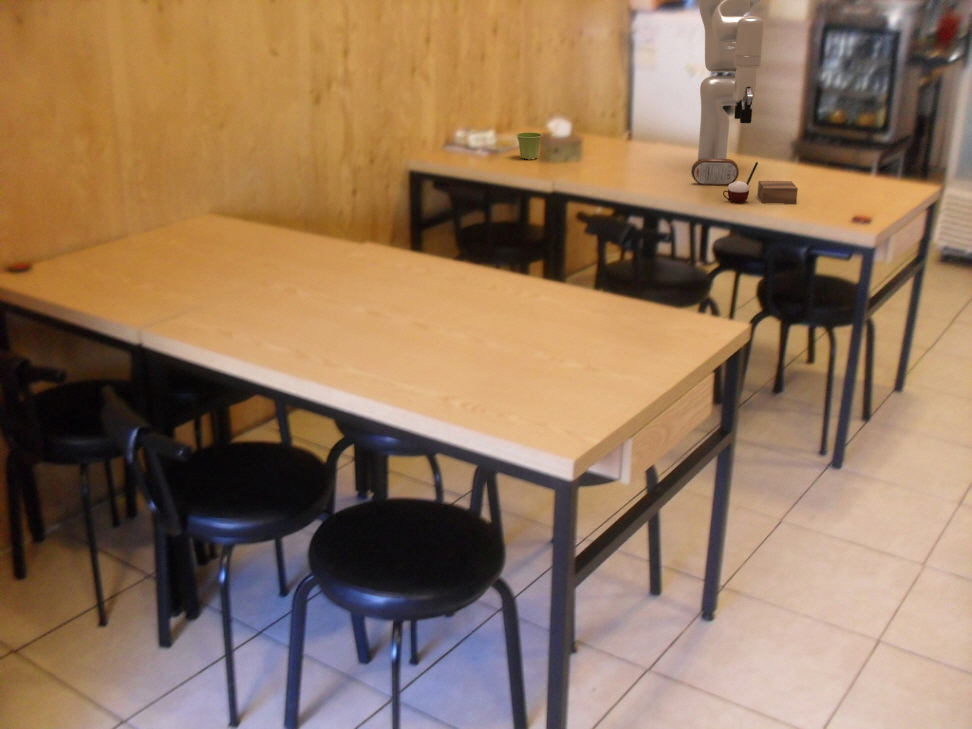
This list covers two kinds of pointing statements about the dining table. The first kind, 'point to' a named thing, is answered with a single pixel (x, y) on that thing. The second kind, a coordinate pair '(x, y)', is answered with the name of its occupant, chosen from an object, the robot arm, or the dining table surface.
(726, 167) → the tin
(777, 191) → the walnut block
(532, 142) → the plant pot
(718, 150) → the robot arm
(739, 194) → the cocoa
